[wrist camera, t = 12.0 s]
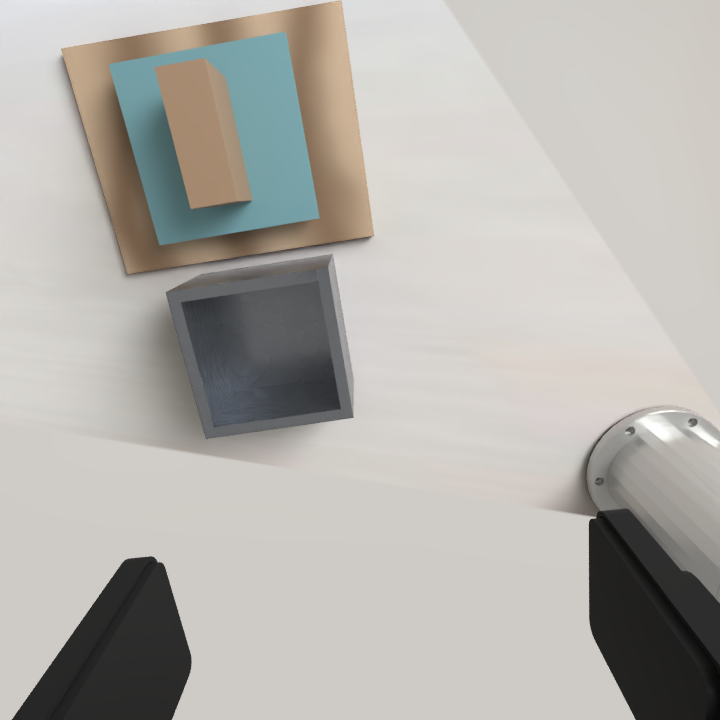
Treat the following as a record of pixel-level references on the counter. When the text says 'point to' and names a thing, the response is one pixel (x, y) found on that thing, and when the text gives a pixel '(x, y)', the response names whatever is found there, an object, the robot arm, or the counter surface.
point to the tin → (265, 346)
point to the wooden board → (319, 117)
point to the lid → (218, 138)
